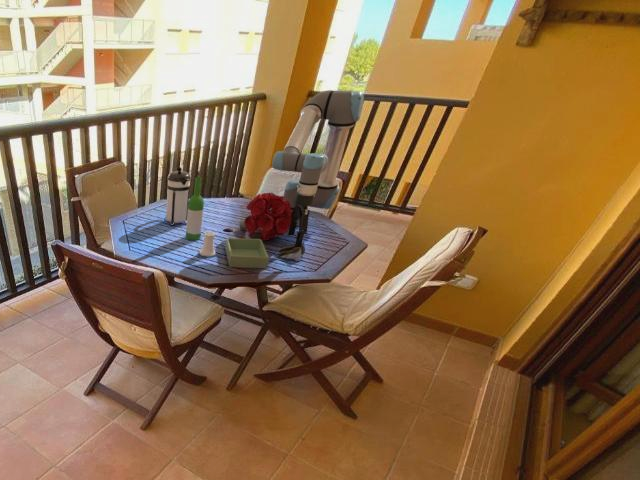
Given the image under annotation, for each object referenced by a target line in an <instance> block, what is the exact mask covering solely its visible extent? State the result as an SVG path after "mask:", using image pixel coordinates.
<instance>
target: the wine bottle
mask: <svg viewBox="0 0 640 480" xmlns="http://www.w3.org/2000/svg"><path fill="white" fill-rule="evenodd" d="M201 188H202V178H201V177H195V179H194V189H193V195H192V196H191V197H189V203H188V214H187V220H186V223H187V225H186V227H185V237H186V238H187V240H190V241H198V240H200V238H201V237H202V236H201V235H202V227H203V216H204V206H205V201H204V198H203V197H202V196H201Z"/></svg>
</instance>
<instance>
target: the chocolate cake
mask: <svg viewBox="0 0 640 480" xmlns="http://www.w3.org/2000/svg"><path fill="white" fill-rule="evenodd" d="M294 245H295V243H294V244H291V245H287V246H282V247H279V248H278V249H277V251H278V254H279V258H282V259H286V261H289V260H294V261H295V262H298V261H299V262H300V261H301V260H302V256H304V254H305V253H306V246H305V242H302V245H301V247H294Z"/></svg>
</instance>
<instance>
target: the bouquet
mask: <svg viewBox="0 0 640 480" xmlns="http://www.w3.org/2000/svg"><path fill="white" fill-rule="evenodd" d="M269 193H270V192H264V193H258V194H257V195H256V196H255V197H254V198H253V199H251V200H250V201H249V203H248V204H247V205H246V209H247V210H249V211H250V214H249V215H248V216H246V217H245V218H244V219H242V220H240V221H239V224H238V226H239V228H240V230H243V231H244V230H246V231H247V232H248V234H249V235H252V234H254V233H256V232H257V231H258V229H259V230H261V231H260V235H261V236H260V239H261V240H262V242H264V241H269V240H271V239H272V238H275V237H279V236H281V237H283V236H285V235H286V233H288V232H289V227H290V223H291V218H290V216H291V214H292V212H291V207H290V203H289V201H287V200H285V201H283V200H284V199H285V197H283V196H284V195H277V194H275V195H273V194H274V193H273V194H269Z"/></svg>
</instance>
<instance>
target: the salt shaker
mask: <svg viewBox="0 0 640 480" xmlns="http://www.w3.org/2000/svg"><path fill="white" fill-rule="evenodd" d="M203 234H204V238H203V243H202V246H201V249H200V250H199V255H201V256H202V257H207V258H209V257H214V256H215V255H216V250H215V247H214V240H215V235H216V233H215V232H213V231H205V232H204V233H203Z"/></svg>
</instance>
